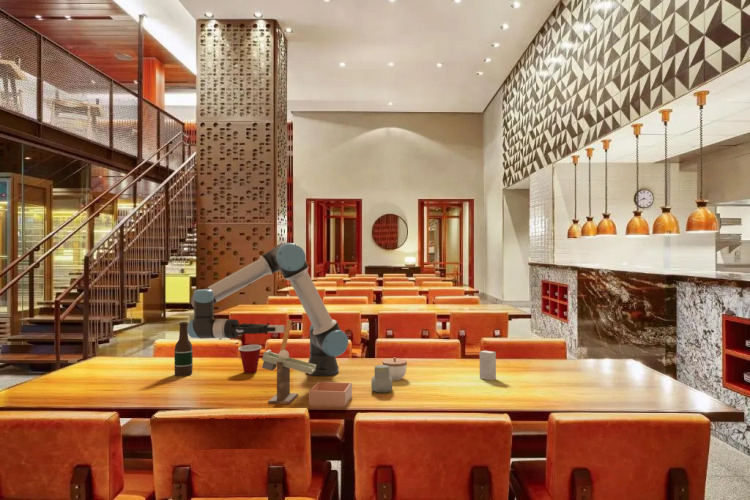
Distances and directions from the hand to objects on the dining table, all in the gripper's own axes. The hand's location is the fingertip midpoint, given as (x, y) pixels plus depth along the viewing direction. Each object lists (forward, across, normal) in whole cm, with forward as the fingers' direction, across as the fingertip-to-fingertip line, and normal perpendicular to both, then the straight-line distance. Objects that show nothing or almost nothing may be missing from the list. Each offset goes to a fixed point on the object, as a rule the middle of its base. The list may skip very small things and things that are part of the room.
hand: (284, 328), depth 198 cm
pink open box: (+20, +6, -26) cm, 33 cm away
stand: (+1, +6, -26) cm, 27 cm away
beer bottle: (-58, -27, -26) cm, 68 cm away
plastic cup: (-29, -36, -26) cm, 53 cm away
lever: (+3, +4, -16) cm, 17 cm away
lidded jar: (+39, -32, -27) cm, 58 cm away
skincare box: (+80, -38, -28) cm, 93 cm away
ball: (+2, +6, -9) cm, 11 cm away
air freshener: (+37, -12, -27) cm, 47 cm away
